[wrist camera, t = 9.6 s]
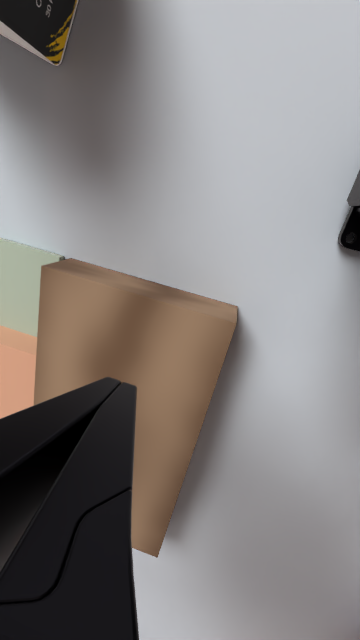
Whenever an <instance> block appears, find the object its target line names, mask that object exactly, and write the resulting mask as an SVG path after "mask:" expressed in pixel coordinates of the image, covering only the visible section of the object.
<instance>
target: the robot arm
mask: <svg viewBox="0 0 360 640" xmlns="http://www.w3.org/2000/svg"><path fill="white" fill-rule="evenodd" d="M347 201H348V204H349V206H351V208H350V210H349V213H348V215H347V217H346V220H345V222H344V224H343V227H342V229H341V231H340V234H339V237H338V242H339V244H340V245H341V246H343V247H345V248H349V249H352V250H356V251H360V171H359V173H358V175H357V178H356V180H355V182H354V185H353V187H352V190H351V192H350V194H349V197H348V199H347ZM350 233H352V234H353V235H354V239H353V240H352V241H351V242H349V243H348V242H346V236H347V235H348V234H350ZM136 401H137V387H136V386H135V385H132V384H129V383H126V382H121V381H120V380H117V379H114V378H111V377H105V378H102V379H100V380H97V381H95V382H92V383H90V384H87V385H85V386H82V387H80V388H77V389H74V390H72V391H69V392H67V393H64V394H62V395H59V396H57V397H54V398H51V399H49V400H46V401H44V402H41V403H39V404H36V405H34V406H31V407H29V408H26V409H23V410H21V411H18V412H16V413H13V414H11V415H8V416H6V417H3V418H1V419H0V640H139V633H138V622H137V610H136V599H135V587H134V576H133V559H132V541H131V522H132V488H133V466H134V445H135V423H136Z"/></svg>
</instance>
